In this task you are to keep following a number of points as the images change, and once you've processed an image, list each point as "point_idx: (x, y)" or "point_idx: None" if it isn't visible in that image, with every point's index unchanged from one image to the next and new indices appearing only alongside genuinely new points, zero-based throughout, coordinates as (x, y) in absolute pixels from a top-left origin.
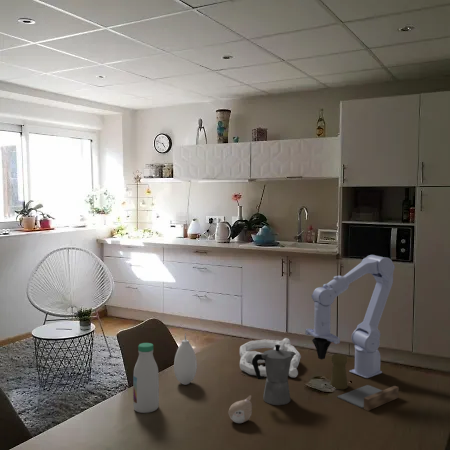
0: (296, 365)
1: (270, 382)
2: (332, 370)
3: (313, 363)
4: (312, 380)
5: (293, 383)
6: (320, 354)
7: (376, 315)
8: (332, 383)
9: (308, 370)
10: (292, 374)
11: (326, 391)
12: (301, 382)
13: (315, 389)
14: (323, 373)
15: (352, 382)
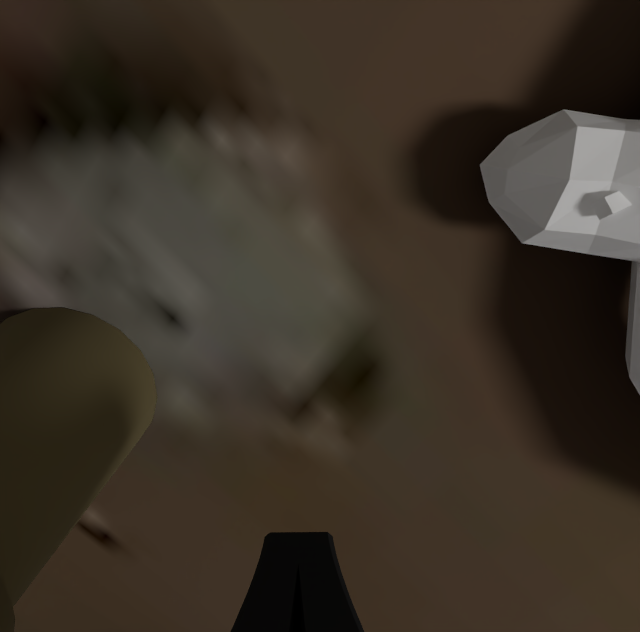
0: (634, 342)
1: None
2: (15, 440)
3: (590, 580)
4: (324, 285)
5: (407, 21)
6: (257, 601)
7: None
8: (47, 329)
9: (525, 441)
10: (531, 129)
11: (3, 174)
12: (363, 137)
13: (111, 111)
14: (376, 491)
15: None
